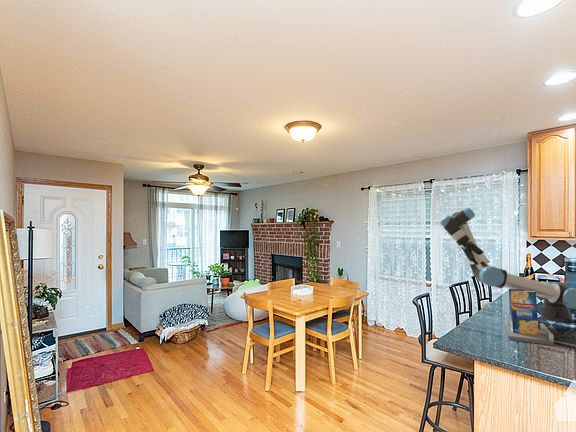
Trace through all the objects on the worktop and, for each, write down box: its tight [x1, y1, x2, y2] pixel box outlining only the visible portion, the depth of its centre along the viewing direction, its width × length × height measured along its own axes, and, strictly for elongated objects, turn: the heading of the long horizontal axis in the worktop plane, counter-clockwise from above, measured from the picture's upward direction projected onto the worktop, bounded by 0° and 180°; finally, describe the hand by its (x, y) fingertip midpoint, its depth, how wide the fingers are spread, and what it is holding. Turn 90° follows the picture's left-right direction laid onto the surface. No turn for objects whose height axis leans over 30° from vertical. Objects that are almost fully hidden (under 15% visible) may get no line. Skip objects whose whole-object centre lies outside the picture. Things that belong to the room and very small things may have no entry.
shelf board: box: [503, 324, 555, 346], centre depth 167 cm, size 22×18×2 cm
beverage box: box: [508, 288, 539, 335], centre depth 168 cm, size 7×11×22 cm, turn 62°
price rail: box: [539, 322, 555, 341], centre depth 164 cm, size 22×2×3 cm, turn 151°
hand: (485, 266), depth 193 cm, fingers open, 13 cm apart
